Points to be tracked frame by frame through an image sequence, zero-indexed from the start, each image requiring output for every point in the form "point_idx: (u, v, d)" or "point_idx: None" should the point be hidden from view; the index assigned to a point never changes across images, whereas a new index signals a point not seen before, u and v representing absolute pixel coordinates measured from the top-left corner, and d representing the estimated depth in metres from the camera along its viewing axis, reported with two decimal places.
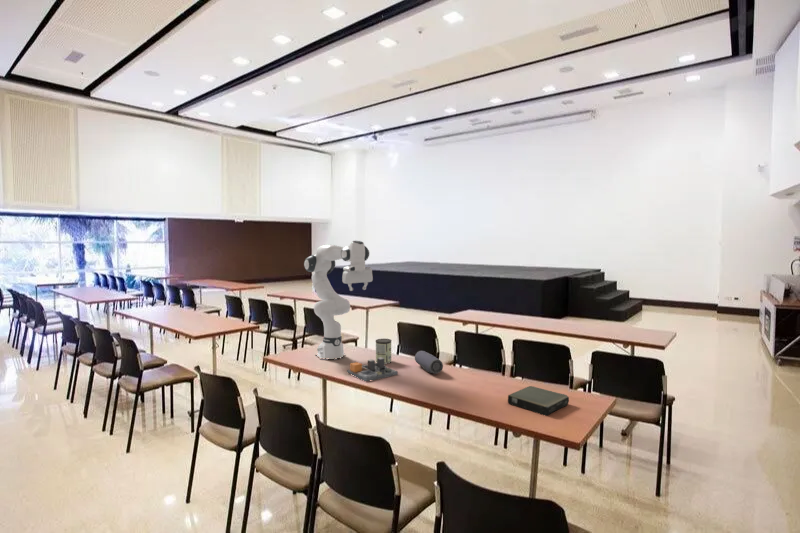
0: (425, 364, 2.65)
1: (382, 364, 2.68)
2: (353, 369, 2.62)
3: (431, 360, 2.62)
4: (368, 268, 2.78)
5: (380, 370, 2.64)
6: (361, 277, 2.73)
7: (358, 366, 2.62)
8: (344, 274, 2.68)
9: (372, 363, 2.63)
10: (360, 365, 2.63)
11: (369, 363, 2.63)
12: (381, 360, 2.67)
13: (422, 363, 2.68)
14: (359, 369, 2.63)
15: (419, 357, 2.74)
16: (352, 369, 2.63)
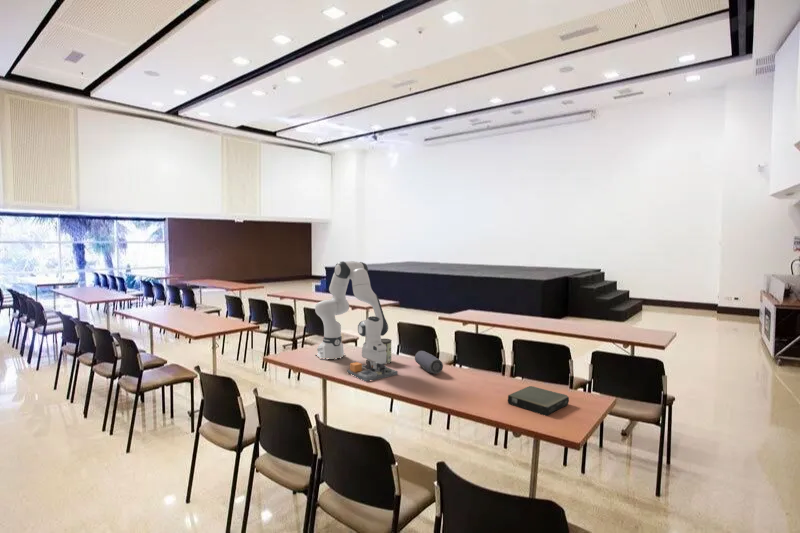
0: (425, 364, 2.65)
1: (382, 364, 2.68)
2: (353, 369, 2.62)
3: (431, 360, 2.62)
4: None
5: (380, 370, 2.64)
6: None
7: (358, 366, 2.62)
8: (383, 354, 2.54)
9: None
10: (360, 365, 2.63)
11: (368, 362, 2.64)
12: None
13: (422, 363, 2.68)
14: (359, 369, 2.63)
15: (419, 357, 2.74)
16: (352, 369, 2.63)
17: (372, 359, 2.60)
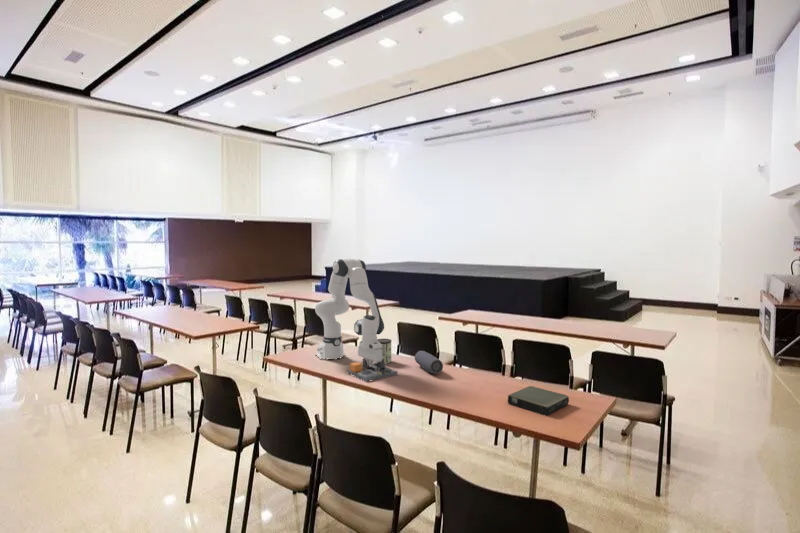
0: (425, 364, 2.65)
1: (382, 364, 2.68)
2: (353, 369, 2.62)
3: (431, 360, 2.62)
4: None
5: (380, 370, 2.64)
6: None
7: (358, 366, 2.62)
8: (379, 352, 2.58)
9: None
10: (360, 365, 2.63)
11: (364, 361, 2.67)
12: None
13: (422, 363, 2.68)
14: (359, 369, 2.63)
15: (419, 357, 2.74)
16: (352, 369, 2.63)
17: (368, 357, 2.63)
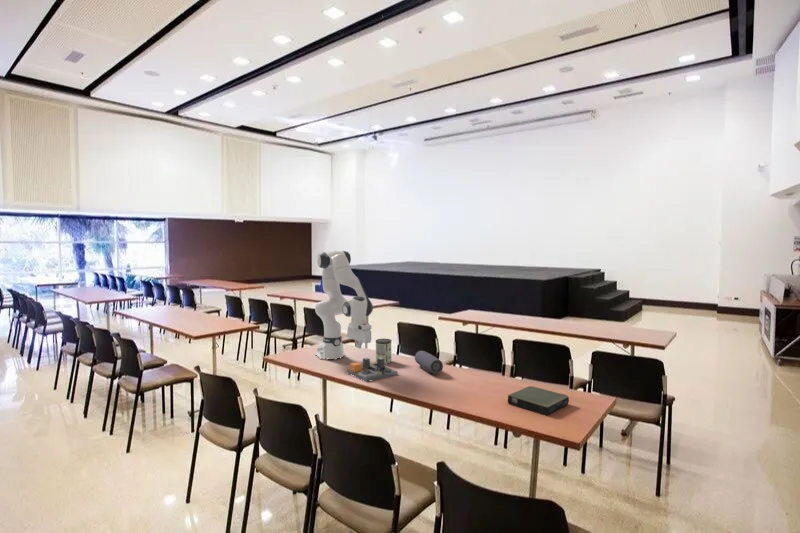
0: (425, 364, 2.65)
1: (382, 364, 2.68)
2: (353, 369, 2.62)
3: (431, 360, 2.62)
4: None
5: (380, 370, 2.64)
6: None
7: (358, 366, 2.62)
8: (368, 333, 2.56)
9: (367, 361, 2.67)
10: (360, 365, 2.63)
11: (364, 361, 2.67)
12: (381, 360, 2.67)
13: (422, 363, 2.68)
14: (359, 369, 2.63)
15: (419, 357, 2.74)
16: (352, 369, 2.63)
17: (357, 338, 2.61)
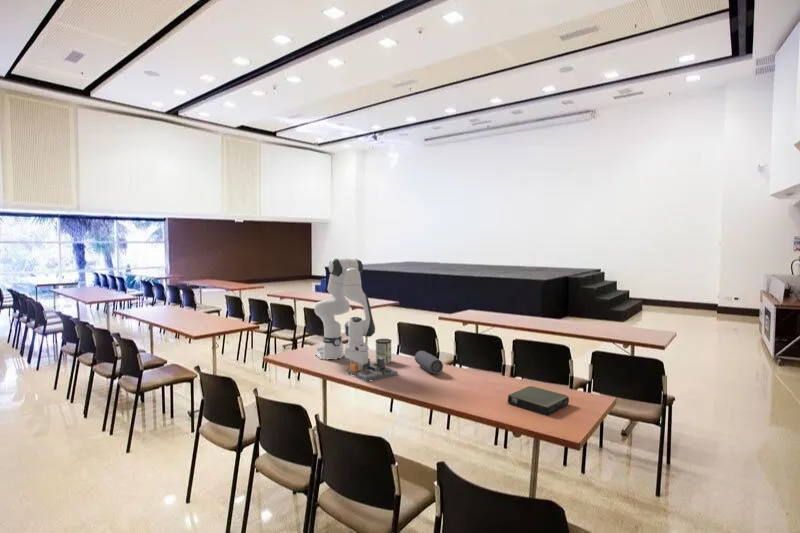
0: (425, 364, 2.65)
1: (382, 364, 2.68)
2: (353, 369, 2.62)
3: (431, 360, 2.62)
4: None
5: (380, 370, 2.64)
6: None
7: None
8: (365, 354, 2.56)
9: None
10: None
11: None
12: (381, 360, 2.67)
13: (422, 363, 2.68)
14: None
15: (419, 357, 2.74)
16: (352, 369, 2.63)
17: (354, 359, 2.62)
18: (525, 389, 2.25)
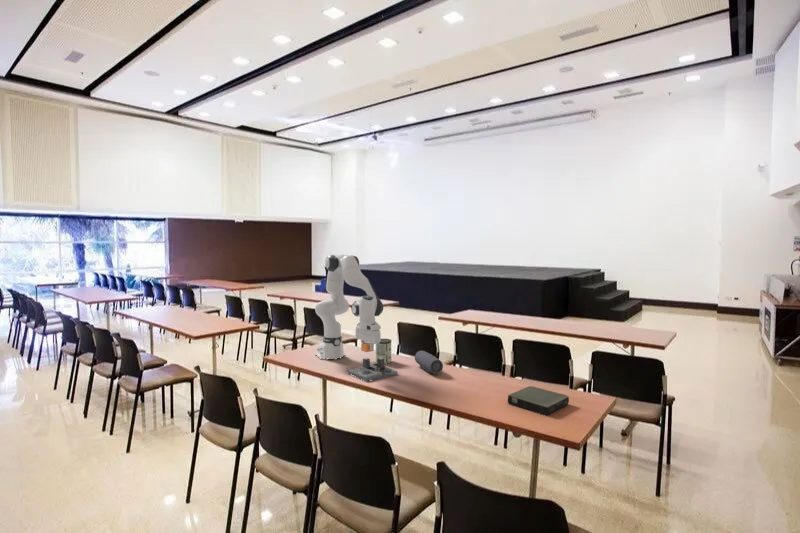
0: (425, 364, 2.65)
1: (382, 364, 2.68)
2: (364, 349, 2.52)
3: (431, 360, 2.62)
4: None
5: (380, 370, 2.64)
6: None
7: (369, 346, 2.53)
8: (377, 334, 2.47)
9: (367, 361, 2.67)
10: None
11: (364, 361, 2.67)
12: (381, 360, 2.67)
13: (422, 363, 2.68)
14: None
15: (419, 357, 2.74)
16: (364, 349, 2.53)
17: (365, 339, 2.52)
18: (525, 389, 2.25)
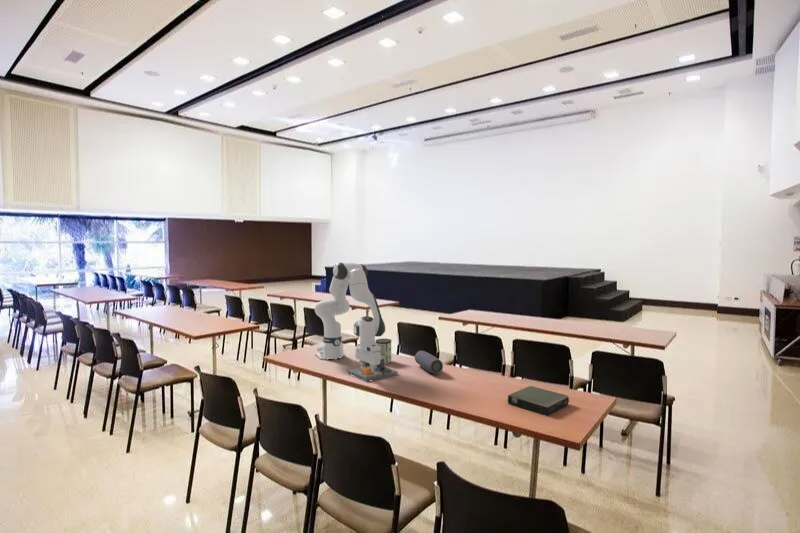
0: (425, 364, 2.65)
1: (382, 364, 2.68)
2: (364, 374, 2.53)
3: (431, 360, 2.62)
4: None
5: (380, 370, 2.64)
6: None
7: (369, 370, 2.54)
8: (377, 355, 2.48)
9: None
10: None
11: None
12: (381, 360, 2.67)
13: (422, 363, 2.68)
14: None
15: (419, 357, 2.74)
16: (364, 373, 2.54)
17: (365, 360, 2.53)
18: (525, 389, 2.25)
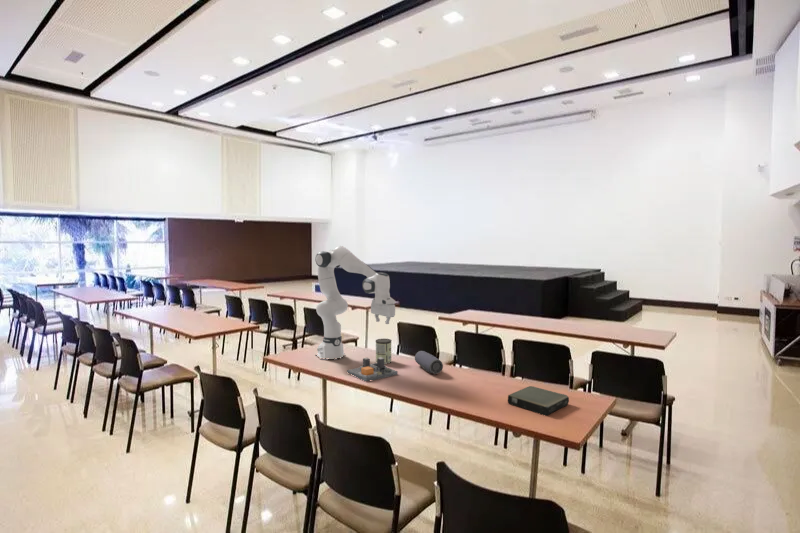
0: (425, 364, 2.65)
1: (382, 364, 2.68)
2: (364, 374, 2.53)
3: (431, 360, 2.62)
4: None
5: (380, 370, 2.64)
6: None
7: (369, 370, 2.54)
8: (392, 308, 2.61)
9: (367, 361, 2.67)
10: (372, 369, 2.55)
11: (364, 361, 2.67)
12: (381, 360, 2.67)
13: (422, 363, 2.68)
14: None
15: (419, 357, 2.74)
16: (364, 373, 2.54)
17: (381, 313, 2.67)
18: (525, 389, 2.25)
